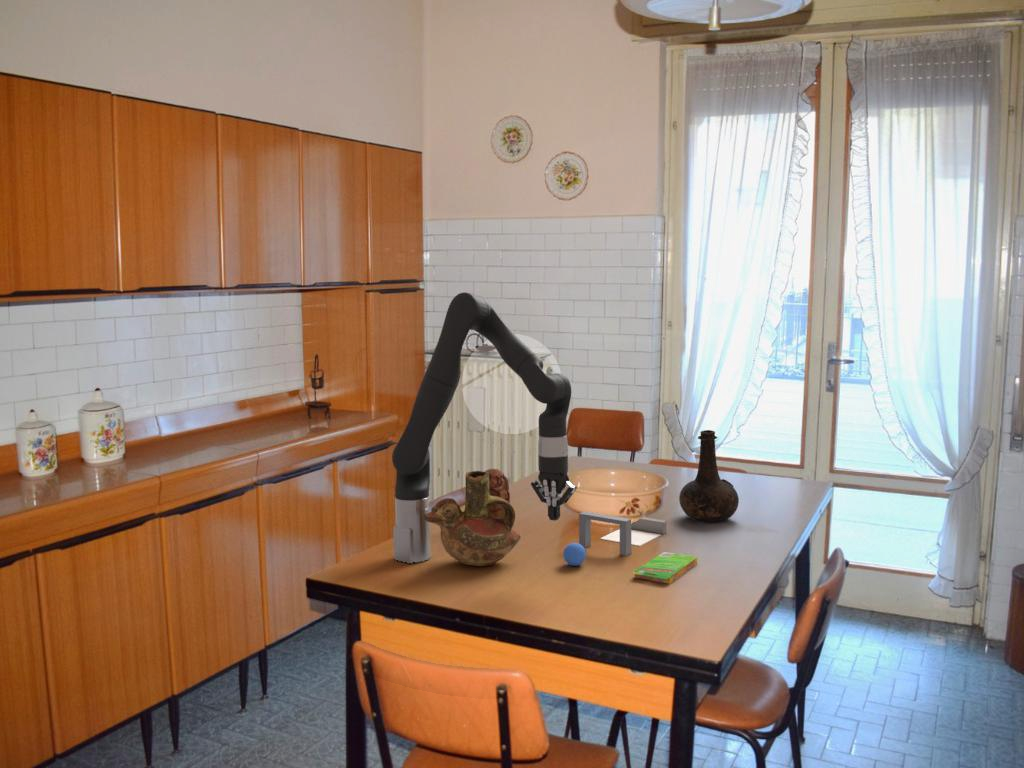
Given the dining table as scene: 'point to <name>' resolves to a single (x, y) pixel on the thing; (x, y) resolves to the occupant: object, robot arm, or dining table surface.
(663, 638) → the dining table surface
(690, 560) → the game box
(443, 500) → the ceramic vessel
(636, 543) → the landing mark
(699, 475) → the glass bottle
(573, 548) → the ball
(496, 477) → the wooden figurine
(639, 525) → the wall
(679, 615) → the dining table surface
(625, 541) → the bridge
